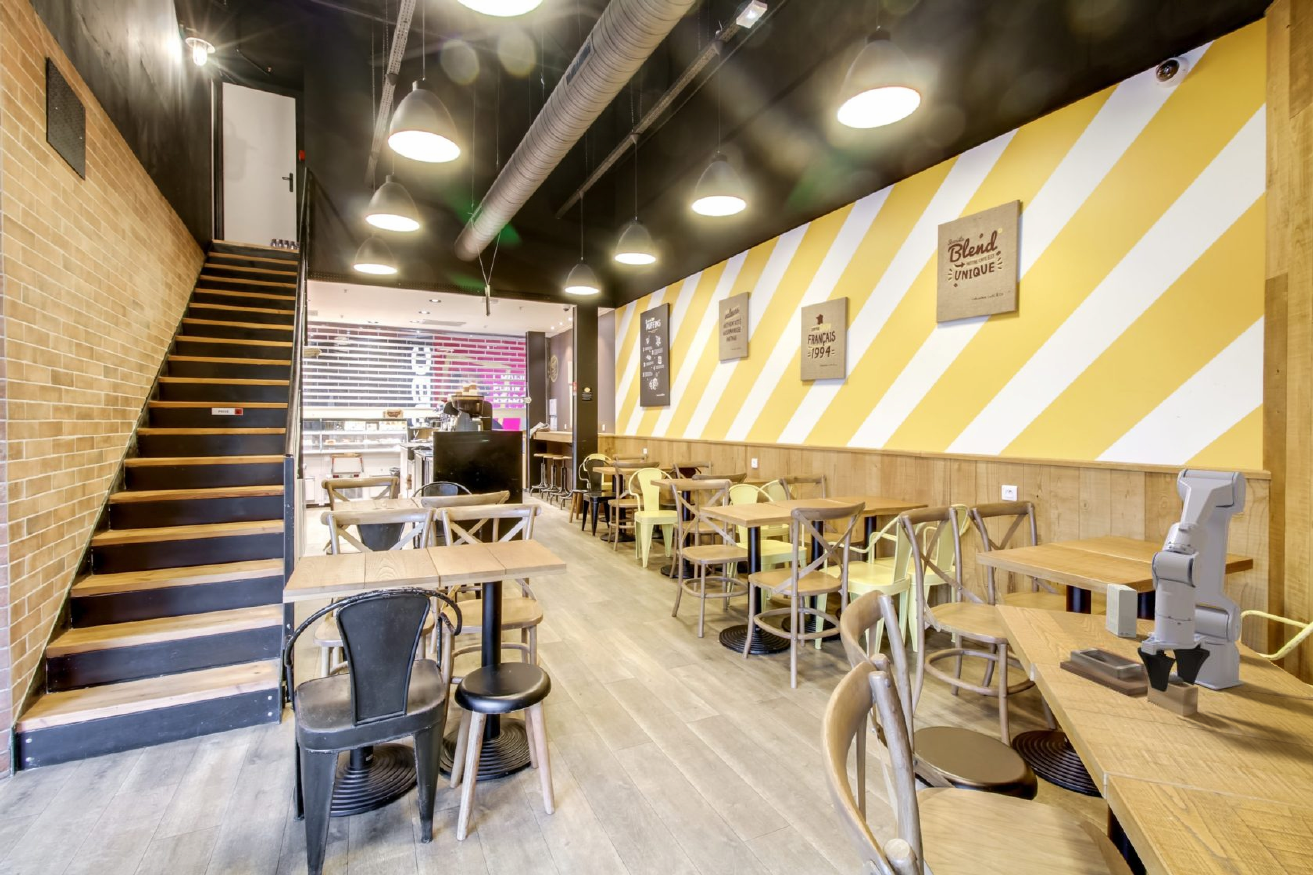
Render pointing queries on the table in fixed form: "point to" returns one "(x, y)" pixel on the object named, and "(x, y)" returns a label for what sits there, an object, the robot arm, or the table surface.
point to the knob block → (1175, 696)
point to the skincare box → (1121, 610)
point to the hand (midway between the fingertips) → (1172, 686)
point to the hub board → (1109, 670)
